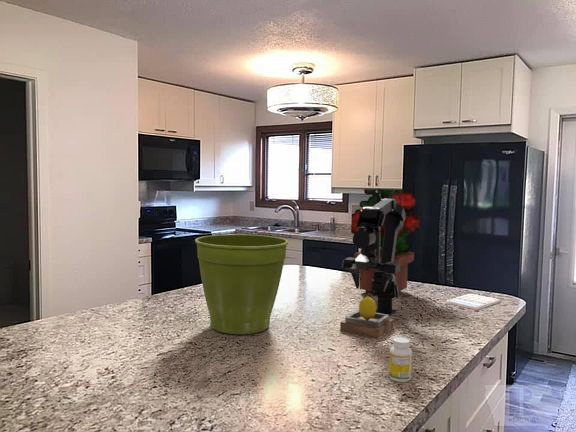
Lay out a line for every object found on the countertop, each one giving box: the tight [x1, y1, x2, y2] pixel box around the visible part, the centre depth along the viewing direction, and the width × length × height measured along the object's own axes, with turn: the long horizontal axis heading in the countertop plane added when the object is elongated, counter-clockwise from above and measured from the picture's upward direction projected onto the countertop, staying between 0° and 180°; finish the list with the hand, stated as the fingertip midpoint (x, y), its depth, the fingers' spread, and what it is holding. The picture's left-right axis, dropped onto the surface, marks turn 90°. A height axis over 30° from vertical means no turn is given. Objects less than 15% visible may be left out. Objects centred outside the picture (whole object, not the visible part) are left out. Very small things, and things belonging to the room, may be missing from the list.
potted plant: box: [350, 188, 420, 295], centre depth 208 cm, size 22×22×45 cm
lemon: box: [358, 295, 377, 320], centre depth 156 cm, size 6×6×8 cm
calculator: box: [446, 293, 500, 310], centre depth 196 cm, size 13×20×2 cm, turn 132°
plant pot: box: [194, 234, 289, 335], centre depth 156 cm, size 30×30×29 cm
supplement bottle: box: [388, 337, 413, 383], centre depth 118 cm, size 5×5×10 cm
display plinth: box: [339, 309, 394, 340], centre depth 157 cm, size 13×13×4 cm
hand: (370, 290), depth 162 cm, fingers open, 9 cm apart
